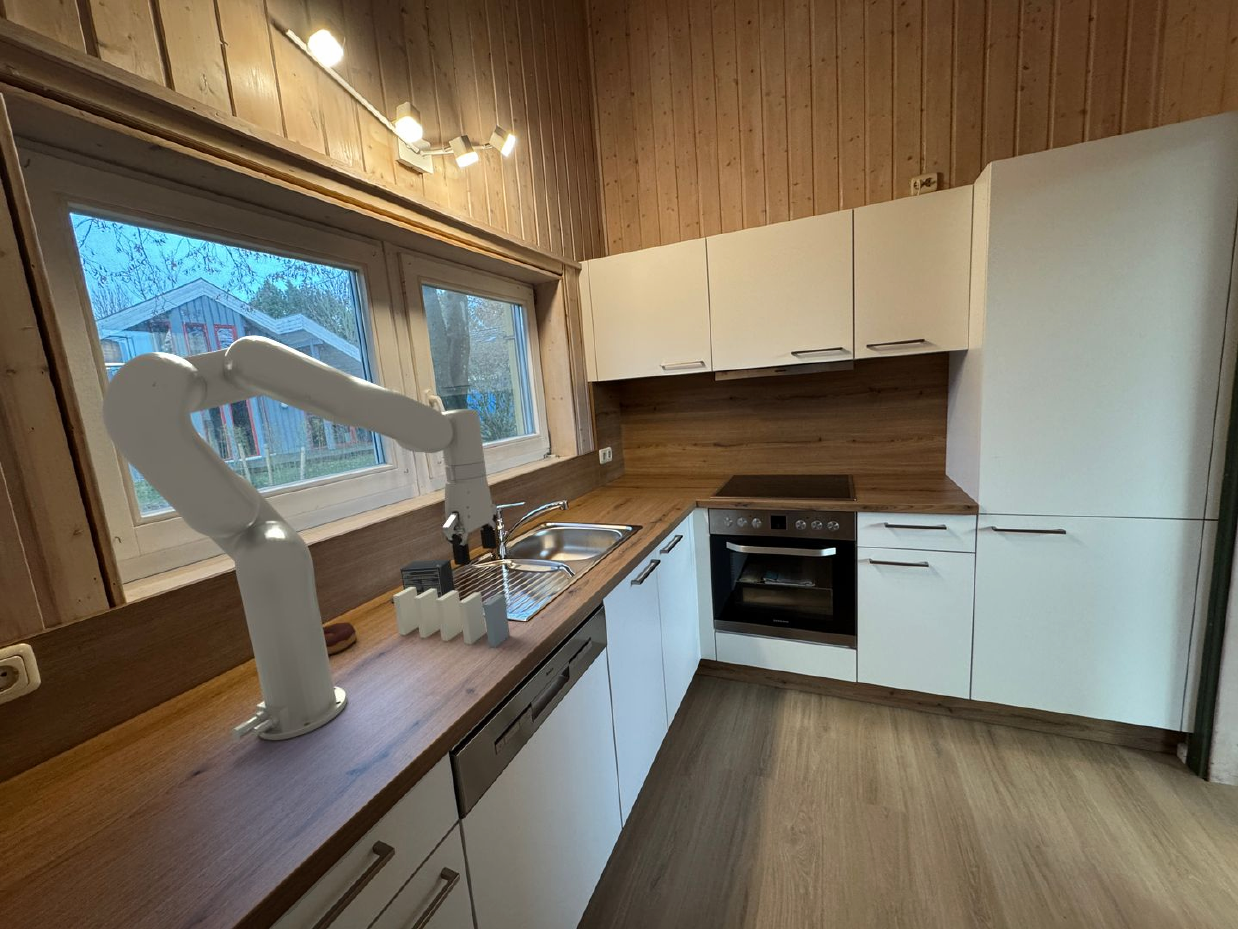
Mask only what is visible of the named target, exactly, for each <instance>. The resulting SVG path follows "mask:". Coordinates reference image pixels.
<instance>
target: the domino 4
mask: <svg viewBox="0 0 1238 929" xmlns="http://www.w3.org/2000/svg"><path fill="white" fill-rule="evenodd" d="M459 607H460V614H461V621H462V628H463V631H462V633H463V640H464V644H466V645H472V644H474V643H475V642H477V641H478V640H479V639H480V638H481V637H483V636H484V635H485V634H487V628H486V621H485V614H484V607H483V599H482V593H481V592H478V591H477V592H476V591H475V592H473V593H471V594H470V595H468V596H466V597H465V598H463V599H462V600H460V602H459Z"/></svg>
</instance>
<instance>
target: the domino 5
mask: <svg viewBox="0 0 1238 929" xmlns="http://www.w3.org/2000/svg"><path fill="white" fill-rule="evenodd" d="M506 602H507V601H506V597H505V594H498V593H497V594H496V595H494V596H493V597H492V598H490V599H489V600H488V601H486V602H485V603H482V605H483V612H484V619H485V627H486V634H487V641H488V647H489V648H494V647H495V649H496V648H497V647H498V646H500V645H501V644H502V643H503V642H504V641H505V640H506V638H507V639H508V638H509V637H510V636H511V634H510V626H509V619H508V612H507V603H506ZM509 635H510V636H509ZM508 636H509V637H508ZM504 639H505V640H504ZM503 640H504V641H503ZM501 642H502V643H501ZM500 643H501V644H500ZM499 644H500V645H499Z"/></svg>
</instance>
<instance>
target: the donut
mask: <svg viewBox="0 0 1238 929" xmlns="http://www.w3.org/2000/svg"><path fill="white" fill-rule="evenodd" d="M323 632H324V637H325V642H326V648H327V653H328V656H329V655H333V654H336V653H338V652H342V651H343V650H345V649H347V648H348V647H349V646H351V645H352V644H353V642H355V640H356V639H357V634H356V629H355V627H354V625H353V624H351V623H349V622H336V623H332V624H329V625H326V626H323Z"/></svg>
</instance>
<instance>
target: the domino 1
mask: <svg viewBox="0 0 1238 929" xmlns="http://www.w3.org/2000/svg"><path fill="white" fill-rule="evenodd" d="M416 596H417V591H416V587H409V588H407V589H405V590H404V589H403V590H401V591H399V592H398V593H396V594H393V596H392V597H393V603H394V604H393V605H394V610H395V617H396V623H397V628H398V634H399V635H401V636H406V635H408V634H409V633H411V632H413V631H414V630H416V629H417V628H419V626H418V620H417V614H416V607H415V601H414V597H416Z"/></svg>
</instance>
